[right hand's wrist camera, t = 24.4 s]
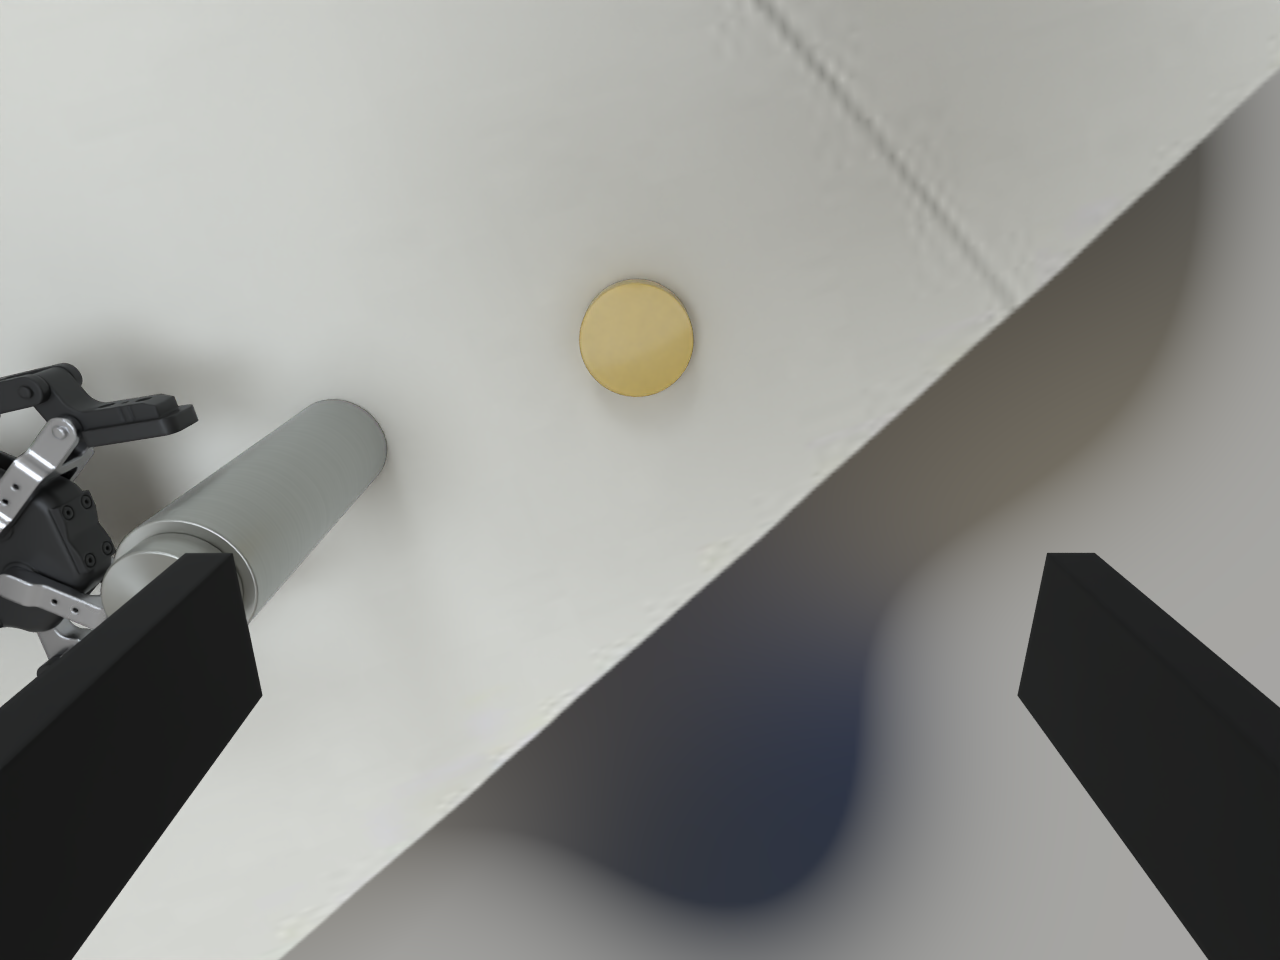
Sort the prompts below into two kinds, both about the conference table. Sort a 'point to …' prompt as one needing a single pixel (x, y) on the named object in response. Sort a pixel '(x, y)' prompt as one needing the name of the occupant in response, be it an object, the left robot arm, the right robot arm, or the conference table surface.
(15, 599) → the left robot arm
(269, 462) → the grey metal canister
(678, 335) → the lid
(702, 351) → the conference table surface
